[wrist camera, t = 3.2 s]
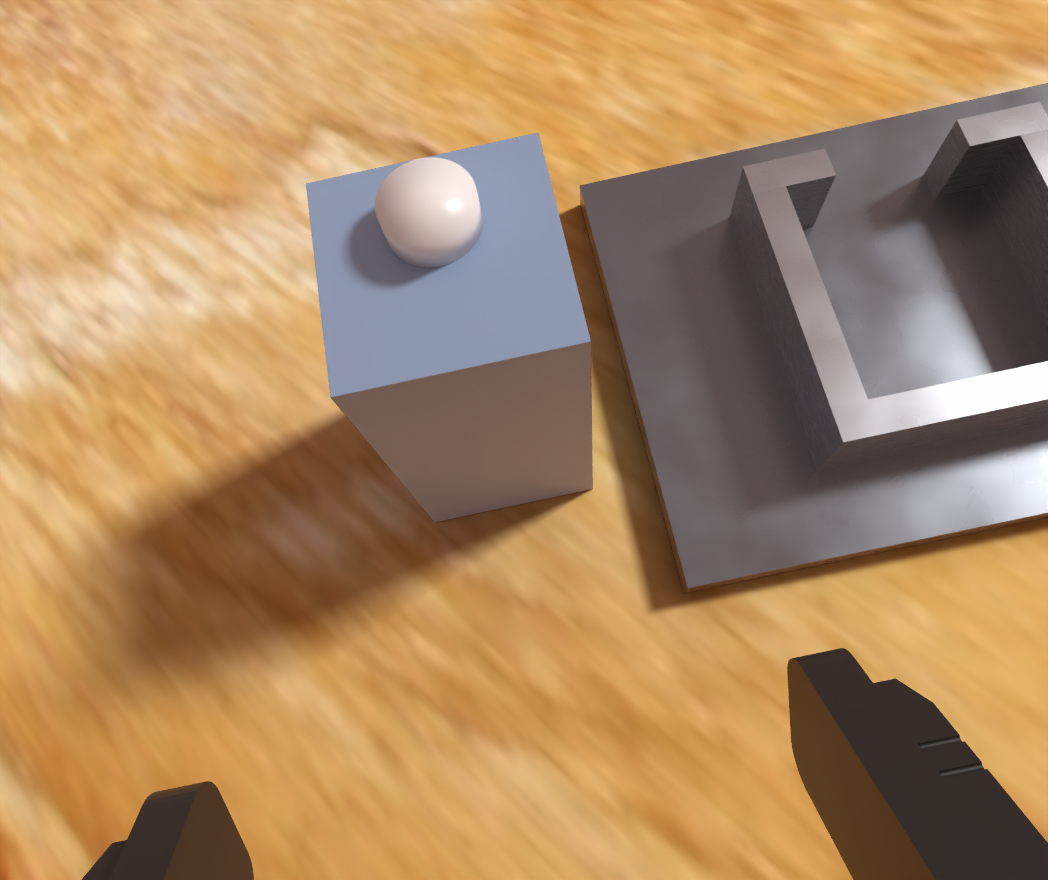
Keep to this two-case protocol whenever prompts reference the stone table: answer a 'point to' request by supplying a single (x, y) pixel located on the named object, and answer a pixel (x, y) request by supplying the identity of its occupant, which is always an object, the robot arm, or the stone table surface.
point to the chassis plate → (838, 335)
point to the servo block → (457, 326)
